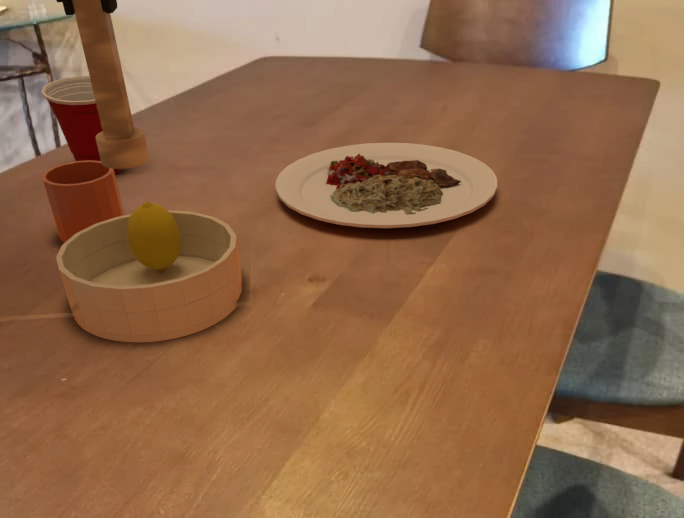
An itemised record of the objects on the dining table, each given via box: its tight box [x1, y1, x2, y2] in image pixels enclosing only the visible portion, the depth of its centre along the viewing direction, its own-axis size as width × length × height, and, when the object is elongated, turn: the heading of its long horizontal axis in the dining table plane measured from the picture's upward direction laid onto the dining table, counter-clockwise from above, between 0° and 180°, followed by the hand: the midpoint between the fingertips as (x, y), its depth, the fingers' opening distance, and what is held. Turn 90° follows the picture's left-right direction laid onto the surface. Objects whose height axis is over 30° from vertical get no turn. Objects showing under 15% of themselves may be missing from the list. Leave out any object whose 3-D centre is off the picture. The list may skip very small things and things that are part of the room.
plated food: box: [275, 142, 498, 229], centre depth 98 cm, size 30×30×3 cm
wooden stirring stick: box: [72, 0, 150, 170], centre depth 63 cm, size 4×4×17 cm
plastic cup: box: [40, 75, 121, 175], centre depth 104 cm, size 11×11×12 cm
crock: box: [40, 160, 125, 244], centre depth 88 cm, size 8×8×8 cm
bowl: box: [55, 209, 243, 344], centre depth 77 cm, size 18×18×6 cm
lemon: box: [128, 201, 181, 272], centre depth 79 cm, size 6×6×8 cm
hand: (91, 9), depth 60 cm, fingers closed on wooden stirring stick, 2 cm apart
